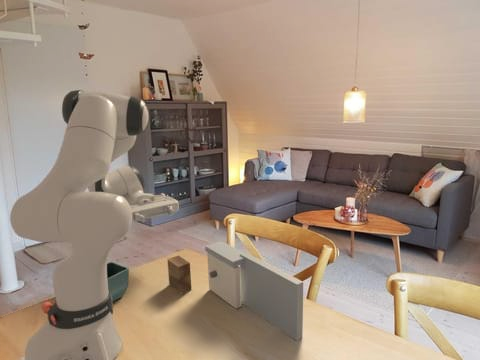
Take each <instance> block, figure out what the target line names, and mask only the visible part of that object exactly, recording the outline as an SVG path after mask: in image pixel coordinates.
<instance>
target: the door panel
mask: <svg viewBox="0 0 480 360" xmlns="http://www.w3.org/2000/svg"><path fill="white" fill-rule="evenodd" d="M206 254H207V271H208V272H207V273H208V289H209V290H210V291H212V292H213V293H214V294H216V295H217V296H218V297H220V298H221V299H223V300H224V301H226V302H227V303H228V304H230V305H231V306H232V307H234V309H239V308H241V307H242V303H241V277H240V265H238V266H236V267H232V266H230V265H228V264H226V263H225V262H223V261H221V260H220V259H218V258H216V257H215V256H213V255H211V254H210V253H208V252H207V253H206Z"/></svg>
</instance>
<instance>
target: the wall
mask: <svg viewBox="0 0 480 360" xmlns="http://www.w3.org/2000/svg"><path fill="white" fill-rule="evenodd" d="M204 248H205V249H204V251H205V252H207V253H210V254H211V255H213V256H215V257H216V258H218V259H220V260H221V261H223V262H225V263H226V264H228V265H230V266H232V267H236V266H239V267H240V288H241V304H243V305H244V306H246V307H247V308H248V309H250V310H252V312H254V313H255V314H257V315H258V316H259V317H261V318H262V319H264V320H266V321H267V322H269V323H270V324H272V325H273V326H275V327H276V328H278V329H279V330H280V331H281V332H283V333H284V334H286V336H287V335H288V336H289V337H290V338H292V339H293V340H295V341H299V340H301V339H303V330H304V329H303V327H304V326H303V323H304V321H303V319H304V314H303V313H304V281H302V280H300V279H298V278H297V277H295V276H292V275H291V274H289V273H287V272H285V271H282V270H281V269H279V268H278V267H275V266H273V265H271V264H270V263H267V262H266V261H264V260H262V259H259V258H257V257H255V256H254V255H252V254H250V253H248V252H246V251H245V252H243V250H242V251H241V250H239V249H238V248H236V247H234V246H233V245H229V244H228V243H226V242H224V241H223V240H221V241H218V242H213V243H211V244H210V243H209V244H207V245H205V246H204Z"/></svg>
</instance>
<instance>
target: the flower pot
mask: <svg viewBox="0 0 480 360" xmlns="http://www.w3.org/2000/svg"><path fill="white" fill-rule="evenodd" d="M129 274H130V268H129V267H127V266H125V265H122V264H118V263H117V262H113V261H109V262H107V281H108V290H109V291H110V292H111V296H112V302H115V301H116V300H119V299H120V298H122V297H124V296H125V293H126V292H127V290H128V287H129V281H130V280H129V278H130V277H129Z"/></svg>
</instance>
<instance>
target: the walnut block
mask: <svg viewBox="0 0 480 360" xmlns="http://www.w3.org/2000/svg"><path fill="white" fill-rule="evenodd" d="M167 272H168V286H169V287H171V288H172V289H173V290H174V291H176V292H177V293H178V295H182V294H185V293H187V292H190V291H191V290H192V279H191V278H192V275H191V262H189V261H188V260H187V259H185V258H183V257H182V256H180V255H176V256H173V257H168V258H167Z"/></svg>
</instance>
